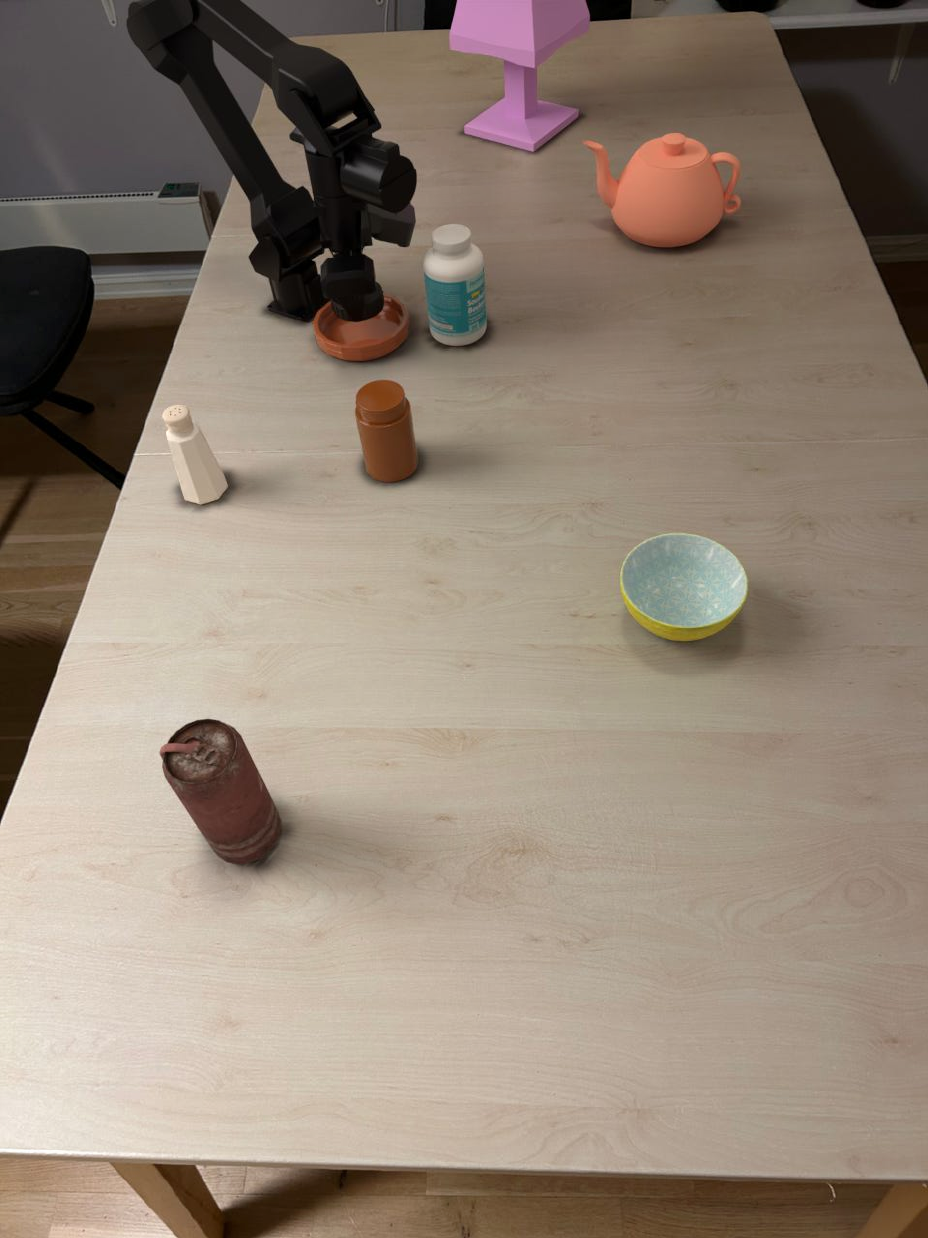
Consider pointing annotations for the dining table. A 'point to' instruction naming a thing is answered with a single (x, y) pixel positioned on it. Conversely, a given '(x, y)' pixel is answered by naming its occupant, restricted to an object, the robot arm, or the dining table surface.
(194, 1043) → the dining table surface
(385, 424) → the jam jar
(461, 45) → the pink table lamp
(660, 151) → the teapot
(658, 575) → the bowl
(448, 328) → the pill bottle
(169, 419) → the pepper shaker
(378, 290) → the lid
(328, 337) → the dish
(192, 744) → the can
